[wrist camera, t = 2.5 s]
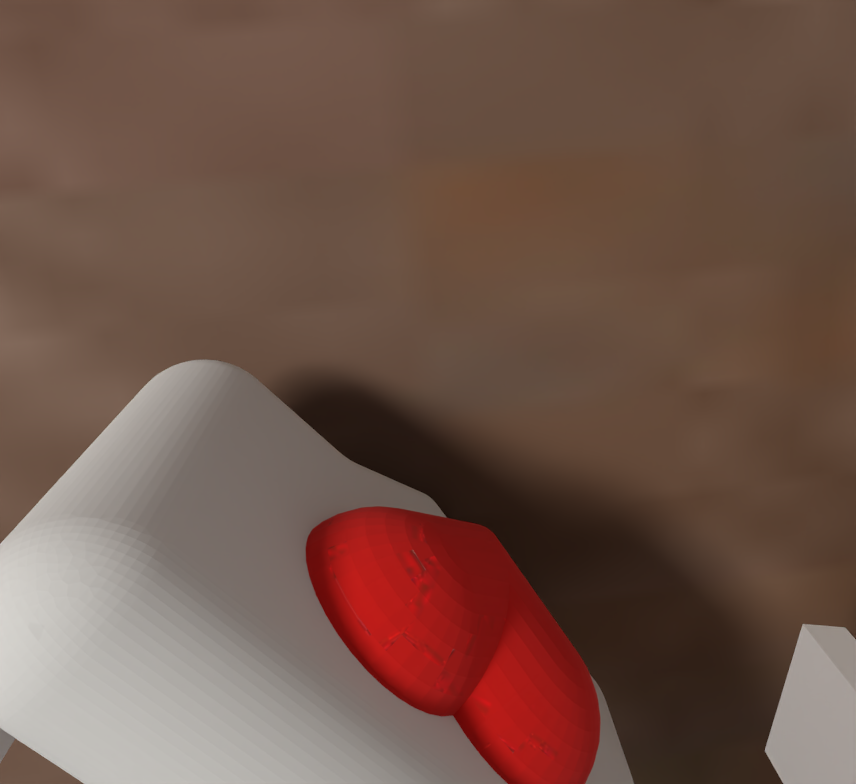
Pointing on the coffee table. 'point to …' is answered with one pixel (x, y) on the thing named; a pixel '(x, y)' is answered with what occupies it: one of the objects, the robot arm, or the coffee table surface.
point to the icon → (277, 616)
